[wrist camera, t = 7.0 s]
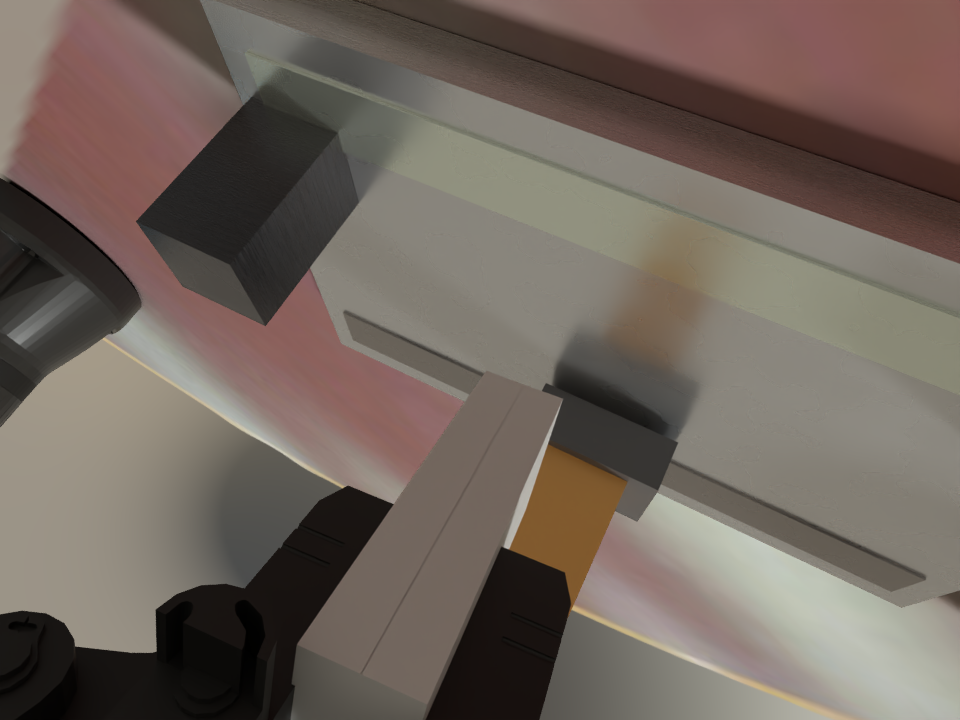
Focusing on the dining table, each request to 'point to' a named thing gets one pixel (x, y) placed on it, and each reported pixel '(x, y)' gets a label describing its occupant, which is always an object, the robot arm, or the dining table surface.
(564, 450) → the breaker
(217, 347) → the dining table surface
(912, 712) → the dining table surface
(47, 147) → the dining table surface
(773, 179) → the tray
